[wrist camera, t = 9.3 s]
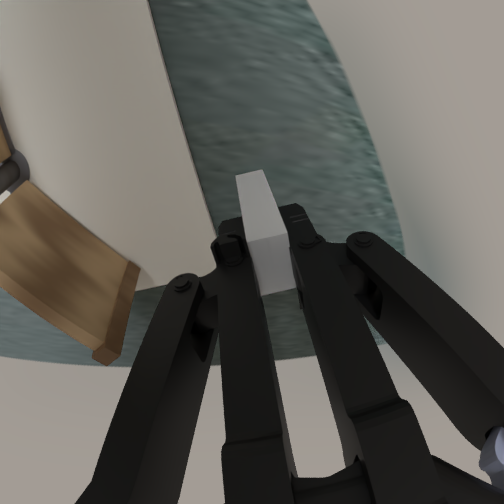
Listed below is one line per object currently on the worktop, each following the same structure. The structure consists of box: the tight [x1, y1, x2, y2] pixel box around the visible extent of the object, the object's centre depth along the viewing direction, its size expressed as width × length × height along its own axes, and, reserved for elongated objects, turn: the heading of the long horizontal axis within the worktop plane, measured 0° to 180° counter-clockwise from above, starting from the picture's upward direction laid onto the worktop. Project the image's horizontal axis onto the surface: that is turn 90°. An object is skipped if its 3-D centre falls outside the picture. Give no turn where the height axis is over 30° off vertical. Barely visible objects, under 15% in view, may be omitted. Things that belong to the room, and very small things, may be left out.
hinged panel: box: [0, 180, 141, 366], centre depth 15 cm, size 10×2×7 cm, turn 41°
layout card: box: [0, 0, 217, 291], centre depth 15 cm, size 24×17×1 cm
